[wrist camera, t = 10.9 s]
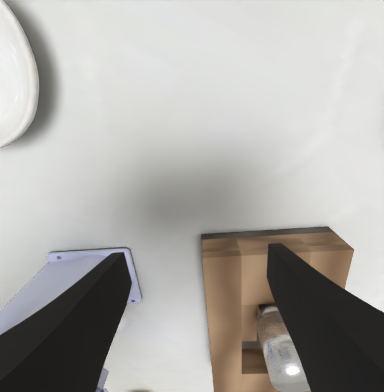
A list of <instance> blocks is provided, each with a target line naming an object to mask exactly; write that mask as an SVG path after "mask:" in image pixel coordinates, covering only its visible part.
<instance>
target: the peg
mask: <svg viewBox="0 0 384 392" xmlns="http://www.w3.org/2000/svg"><path fill="white" fill-rule="evenodd" d="M258 314H259V315H262V316H261V317H260V318H259V319H258V320H257V323H256V328H257V331H258V335H259V339H260V343H261V346H262V350H263V354H264V358H265V361H266V365H267V369H268V373H269V376H270V380H271V384H272V386H273V387H274V388H275V389H276V390H278V391H280V392H306V391H309V390H310V387H309V384H308V382H307V379H306V376H305V373H304V370H303V367H302V364H301V361H300V359H299V356H298V354H297V351H296V349H295V346H294V344H293V342H292V340H291V337H290V335H289V333H288V331H287V328H286V326H285V324H284V322H283V319H282V317H281V315H280V312H279V310H278V308H277V306H276V304H258Z"/></svg>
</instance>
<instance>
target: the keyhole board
mask: <svg viewBox="0 0 384 392" xmlns="http://www.w3.org/2000/svg"><path fill="white" fill-rule="evenodd" d="M201 241H202V265H203V276H204V287H205V298H206V309H207V320H208V331H209V342H210V353H211V363H212V374H213V385H214V392H280V391H278V390H276V389H275V388H274V387H273V386H272V384H271V380H270V376H269V373H268V369H267V365H266V361H265V358H264V354H263V350H262V346H261V343H260V339H259V335H258V331H257V328H256V323H257V320H258V319H259V318H260V317H261V316H262V315H259V314H258V304H276V303H275V301H274V299H273V296H272V293H271V290H270V287H269V283H268V280H267V277H266V276H267V258H268V244H271V243H282V244H283V245H285V246H286V247H287V248H289V249H290V250H291V251H292V252H294V253H295V254H296V255H297V256H299V257H300V258H301V259H303V260H304V261H305V262H306V263H308V264H309V265H310V266H312V267H313V268H314V269H316V270H317V271H319V272H320V273H321V274H323V275H324V276H326V277H327V278H328V279H330V280H331V281H333V282H334V283H336V284H337V285H339V286H340V287H342V288H343V289H344V288H345V284H346V280H347V276H348V272H349V268H350V264H351V260H352V256H353V252H354V249H353V248H352V247H351V246H349V245H348V244H347V243H346V242H345V241H344V240H343V239H342V238H340V237H339V236H338V235H337V234H336V233H335V232H334V231H332V230H331V229H330V228H329V227H314V228H298V229H281V230H265V231H249V232H233V233H217V234H201ZM306 392H311V390H309V391H306Z"/></svg>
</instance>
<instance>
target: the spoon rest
mask: <svg viewBox="0 0 384 392" xmlns="http://www.w3.org/2000/svg"><path fill="white" fill-rule="evenodd" d="M38 98H39V76H38V70H37V65H36V61H35V58H34V55H33V52H32V49H31V46H30V44H29V41H28V39H27V37H26V35H25V33H24V31H23V29H22V26H21V25H20V23H19V21H18V20H17V18H16V16H15V15H14V14H13V12H12V11H11V9H10V8H9V7H8V5H7V4H6V3H5V2H4V0H0V148H2V147H4V146H7V145H9V144H10V143H12V142H14V141H15V140H17V139H18V138H19V137H20V136H21V135H22V134H23V133H24V132H25V131H26V130H27V129H28V127H29V126H30V124H31V123H32V121H33V119H34V117H35V114H36V110H37V105H38Z"/></svg>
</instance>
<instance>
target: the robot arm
mask: <svg viewBox="0 0 384 392" xmlns="http://www.w3.org/2000/svg"><path fill="white" fill-rule="evenodd" d="M46 258H47V260H48V264H47V265H46V266H45V267H44V268H43V269H42V270H41V271H40V272H39V273H38V274H37V275H36V276H35V277H34V278H33V279H32V280H31V281H30V282H29V283H28V284H27V285H26V286H25V287H24V288H23V289H22V290H21V291H20V292H19V293H18V294H17V295H16V296H15V297H14V298H13V299H12V300H11V301H10V302H9V303H8V304H7V305H6V306H5V307H4V308H3V310H2V311H1V313H0V392H108V390H107V389H105V388H103V386H104V384H105V381H106V378H107V375H108V370H106V369H105V368H104V367H103V365H104V362H105V359H106V357H107V354H108V351H109V348H110V346H111V343H112V341H113V338H114V336H115V333H116V331H117V328H118V325H119V323H120V320H121V318H122V315H123V313H124V310H125V307H126V305H127V304H138V303H141V300H142V297H141V293H140V289H139V285H138V281H137V277H136V273H135V269H134V265H133V261H132V257H131V253H130V250H129V249H127V248H120V249H103V250H86V251H69V252H52V253H49V254H48V255H47V256H46ZM266 277H267V280H268V283H269V287H270V290H271V293H272V296H273V299H274V301H275V303H276V306H277V308H278V310H279V312H280V315H281V317H282V319H283V322H284V324H285V326H286V328H287V331H288V333H289V335H290V337H291V340H292V342H293V344H294V346H295V349H296V351H297V354H298V356H299V359H300V361H301V364H302V367H303V370H304V373H305V376H306V379H307V382H308V384H309V387H310V390H311V392H384V313H383V312H382V311H380V310H378V309H376V308H374V307H373V306H371V305H369V304H368V303H366V302H364V301H363V300H361V299H359V298H358V297H356V296H354V295H353V294H351V293H349V292H348V291H346V290H345V289H343V288H342V287H340V286H339V285H337V284H336V283H334V282H333V281H331V280H330V279H328V278H327V277H326V276H324V275H323V274H321V273H320V272H319V271H317V270H316V269H314V268H313V267H312V266H310V265H309V264H308V263H306V262H305V261H304V260H303V259H301V258H300V257H299V256H297V255H296V254H295V253H294V252H292V251H291V250H290V249H289V248H287V247H286V246H285V245H283V244H282V243H271V244H268V258H267V276H266Z"/></svg>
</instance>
